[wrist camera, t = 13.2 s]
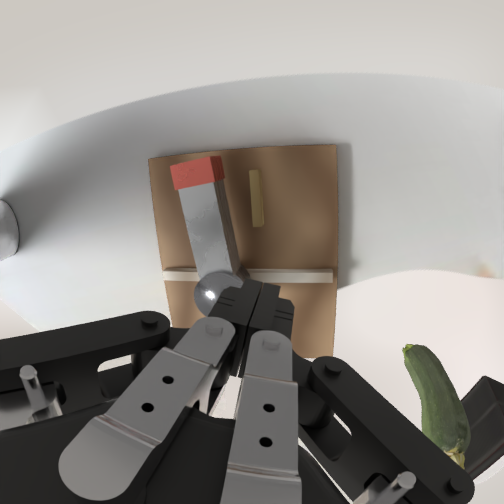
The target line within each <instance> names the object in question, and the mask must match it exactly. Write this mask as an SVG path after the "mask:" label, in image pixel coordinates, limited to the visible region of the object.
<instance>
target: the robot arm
mask: <svg viewBox="0 0 504 504" xmlns="http://www.w3.org/2000/svg"><path fill="white" fill-rule="evenodd" d="M18 243H19V232H18V226H17V221H16V218H15V216H14V213H13V211H12V209H11V208H10V206H9V205H8V204H7V203H6V202H4V201H3V200H0V261H2V260H4V259H6V258H8V257H10V256H12V255H14V254H15V252H16V250H17V248H18ZM262 284H263V282H261V281H257V280H252V279H248V278H246V279H245V281H244V283H243V285H242V287H241V288H237V287H233V286H230V287H228V288H226V289H224V290H223V291H222V293H221V294H220V296H219V298H218V300H217V301H216V303H215V305H214V306H213V308H212V310H211V311H210V313H209V315H208V316H207V317H203V318H200V319H198V320H197V321H196V322H195V323H194V324H193V326H192V327H191V328H174V327H170V321H169V319H168V318H167V317H166V316H165V315H163V314H161V313H159V312H155V311H141V312H137V313H132V314H127V315H123V316H118V317H114V318H109V319H104V320H99V321H94V322H90V323H85V324H80V325H75V326H70V327H65V328H60V329H55V330H49V331H44V332H39V333H34V334H29V335H23V336H18V337H12V338H7V339H1V340H0V504H350V503H349V502H348V501H347V500H346V498H345V497H344V496H343V495H342V493H341V492H340V491H339V490H338V488H337V487H336V486H335V485H334V483H333V482H332V481H331V479H330V478H329V477H328V476H327V474H326V473H325V472H324V470H323V469H322V468H321V467H320V465H319V464H318V463H317V461H316V460H315V459H314V458H313V457H312V456H311V455H310V454H309V453H308V452H307V451H306V450H305V449H304V448H302V447H301V446H299V445H298V437H299V438H300V439H301V441H302V442H303V443H304V444H305V446H306V447H307V448H308V449H309V451H310V452H311V453H312V454H313V455H314V457H315V458H316V459H317V460H318V462H319V463H320V464H321V465H322V466H323V468H324V469H325V470H326V471H327V472H328V474H329V475H330V476H331V477H332V478H333V480H335V482H336V483H337V484H338V485H339V486H340V488H341V489H342V490H343V491H344V492H345V493H346V494H347V496H348V497H349V498H350V499H351V500H352V501H353V504H467V503H468V502H469V501H470V500H471V499H472V497H473V495H474V491H475V486H474V482H473V480H472V478H471V476H470V475H469V474H468V473H467V472H466V471H465V470H464V469H463V468H461V467H460V466H459V465H458V464H457V463H456V462H455V461H454V460H452V459H451V458H450V457H449V456H448V455H447V454H446V453H445V452H444V451H442V450H441V449H440V448H439V447H438V446H437V445H436V444H435V443H433V442H432V441H431V440H430V439H429V438H428V437H427V436H426V435H425V434H424V433H422V432H421V431H420V430H419V429H418V428H417V427H416V426H415V425H414V424H412V423H411V422H410V421H409V420H408V419H407V418H406V417H405V416H404V415H402V414H401V413H400V412H399V411H398V410H397V409H396V408H395V407H394V406H393V405H392V404H390V403H389V402H388V401H387V400H386V399H385V398H384V397H383V396H382V395H381V394H380V393H379V392H377V391H376V390H375V389H374V388H373V387H372V386H371V385H370V384H369V383H368V382H366V380H364V379H363V378H362V377H361V376H360V375H359V374H358V373H357V372H356V371H355V370H354V369H353V368H351V367H350V366H349V365H348V364H347V363H346V362H344V361H343V360H341V359H339V358H336V357H332V356H321V357H318V358H316V359H315V360H314V361H313V362H311V361H308V360H306V359H304V358H302V357H300V356H299V355H298V354H296V353H295V352H294V350H293V349H292V343H291V334H292V326H293V318H294V310H295V307H294V305H293V303H292V302H291V300H288V299H284V298H279V292H280V288H281V286H278V285H274V284H270V283H265V282H264V284H263V287H262ZM261 289H262V290H261ZM127 355H131V363H130V364H126V365H122V366H119V367H115V368H111V369H108V370H104V371H100V372H98V371H97V370H98V367H99V366H100V364H102V363H103V362H105V361H108V360H112V359H116V358H119V357H123V356H127ZM240 364H241V365H240ZM239 367H240V370H239ZM238 370H239V375H238V377H239V378H242V381H241V385H240V389H239V393H238V398H237V404H236V408H235V413H234V418H233V419H224V418H214V417H211V415H212V413H213V411H214V410H215V408H216V406H217V404H218V402H219V400H220V398H221V396H222V394H223V392H224V389H225V384H226V383H227V381H228V379H229V376H230V375H231V376H235V377H236V376H237V373H238ZM334 413H335V414H336V415H337V416H338V417H339V418H340V419H341V420H342V421H343V422H344V423H345V424H346V425H347V426H348V428H349V429H350V431H351V435H352V436H351V435H350V434H349V433H348V431H347V430H346V429H345V428H344V427H343V426H342V425H341V424H340V423H339V422H338V421H337V420H336V419H335V417H334V416H333V415H334Z"/></svg>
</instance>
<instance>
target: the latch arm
mask: <svg viewBox="0 0 504 504" xmlns="http://www.w3.org/2000/svg"><path fill="white" fill-rule="evenodd" d="M170 170H171V174H172V179H173V184H174V188H175V190H178V191H179V196H180V200H181V205H182V209H183V213H184V218H185V222H186V226H187V231H188V235H189V239H190V243H191V247H192V251H193V255H194V259H195V263H196V267H197V271H198V275H199V279H200V281H199V282H198V283H197V285H196V287H195V289H194V300H195V304H196V306H197V308H198V309H199V310H200V312H201V313H202V314H203V315H204V316H206V317H207V316H208V315H209V313H210V311H211V310H212V308H213V306H214V305H215V303H216V301H217V300H218V298H219V296H220V294H221V293H222V291H223V290H224V289H226V288H228V287H230V286H233V287H237V288H241V287H242V285H243V283H244V281H245V279H246V278H248V279H251V276H250V274H249V273H248V271H247V270H246V269H245V268H244V267H243V266H242V265H241V263H240V258H239V253H238V248H237V244H236V239H235V234H234V229H233V224H232V220H231V215H230V210H229V205H228V200H227V195H226V190H225V186H224V181H223V179H225V174H224V169H223V164H222V159H221V155H219V156H209V157H205V158H200V159H196V160H192V161H188V162H184V163H180V164H176V165H172V166H170Z"/></svg>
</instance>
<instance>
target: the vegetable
mask: <svg viewBox="0 0 504 504" xmlns="http://www.w3.org/2000/svg"><path fill="white" fill-rule="evenodd" d="M402 351H403V353H404V358H405V360H404V361H405V362H404V363H405V366H406V368H407V370H408V372H409V374H410V376H411V378H412V381H413V383H414V385H415V387H416V389H417V391H418V393H419V396H420V399H421V405H422V433H424V434H425V435H426V436H427V437H428V438H429V439H430V440H431V441H432V442H433V443H435V444H436V445H437V446H438V447H439V448H440V449H441V450H442V451H444V452H445V453H446V454H447V455H448V456H449V457H450V458H451V459H452V460H454V461H455V462H456V463H457V464H458V465H459V466H460V467H461V468H463V469H464V460H465V457H464V455H463V454H464V453H465V451H466V449H467V448H468V446H469V443H470V439H471V435H470V427H469V423H468V420H467V416H466V413H465V411H464V408H463V406H462V403H461V402H460V400H459V398H458V396H457V393H456V391H455V388H454V386H453V384H452V382H451V381H450V379H449V377H448V375H447V373H446V371H445V370H444V368H443V366H442V364H441V362H440V361H439V359H438V358H437V357H436V356H435V354H434V353H433V352H432V351H431V350H430V349H428V348H427V347H425V346H422V345H412V344H407V345H406V347H405V348H403V350H402Z"/></svg>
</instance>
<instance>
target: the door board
mask: <svg viewBox="0 0 504 504" xmlns="http://www.w3.org/2000/svg"><path fill="white" fill-rule="evenodd" d="M219 155H221V159H222V164H223V169H224V174H225V179H223V181H224V186H225V190H226V195H227V200H228V205H229V210H230V215H231V220H232V224H233V229H234V234H235V239H236V244H237V248H238V253H239V258H240V263H241V265H242V266H243V267H244V268H245V269H246V270H247V271H248V273H249V274H250V276H251V279H252V280H257V281H261V282H263V284H264V282H265V283H270V284H274V285H278V286H281V288H280V292H279V298H284V299H288V300H291V302H292V303H293V305H294V307H295V310H294V318H293V326H292V334H291V343H292V349H293V350H294V352H295V353H296V354H298V355H299V356H300V357H302V358H318V357H321V356H332V357H333V347H334V333H335V316H336V297H337V269H338V181H337V153H336V145H298V146H275V147H257V148H243V149H230V150H219V151H208V152H199V153H190V154H181V155H173V156H166V157H158V158H151V159H148V162H149V173H150V182H151V192H152V200H153V209H154V216H155V224H156V231H157V238H158V245H159V252H160V258H161V264H162V273H163V279H164V282H165V288H166V294H167V299H168V304H169V310H170V315H171V320H172V325H173V327H174V328H191V327H192V326H193V324H194V323H195V322H196V321H197V320H198V319H200V318H203V317H206V316H204V315H203V314H202V313H201V312H200V310H199V309H198V308H197V306H196V304H195V300H194V289H195V287H196V285H197V283H198V282H199V281H200V279H199V275H198V271H197V267H196V263H195V259H194V255H193V251H192V247H191V243H190V239H189V235H188V231H187V226H186V222H185V218H184V213H183V209H182V205H181V200H180V196H179V191H178V190H175V188H174V184H173V179H172V174H171V170H170V166H172V165H176V164H180V163H184V162H188V161H192V160H196V159H200V158H205V157H209V156H219ZM263 284H262V287H263ZM261 290H262V289H261Z"/></svg>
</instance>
